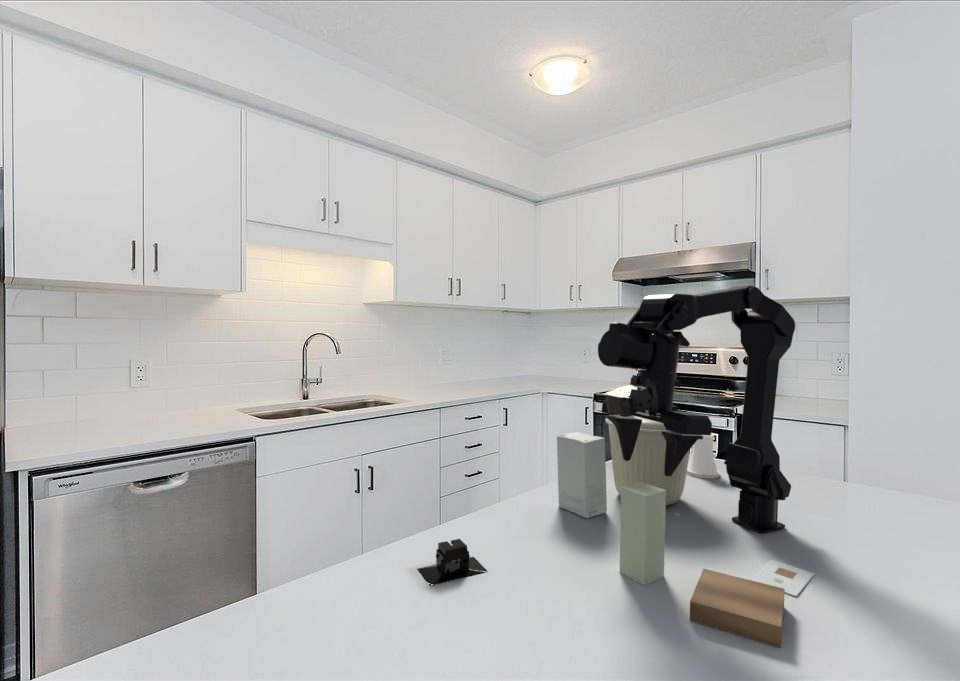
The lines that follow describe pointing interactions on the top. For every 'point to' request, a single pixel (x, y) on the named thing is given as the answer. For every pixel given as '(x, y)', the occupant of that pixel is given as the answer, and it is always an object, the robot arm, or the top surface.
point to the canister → (647, 461)
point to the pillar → (642, 532)
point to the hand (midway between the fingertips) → (646, 467)
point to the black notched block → (451, 564)
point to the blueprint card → (783, 577)
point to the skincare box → (582, 474)
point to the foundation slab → (739, 606)
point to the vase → (703, 459)
